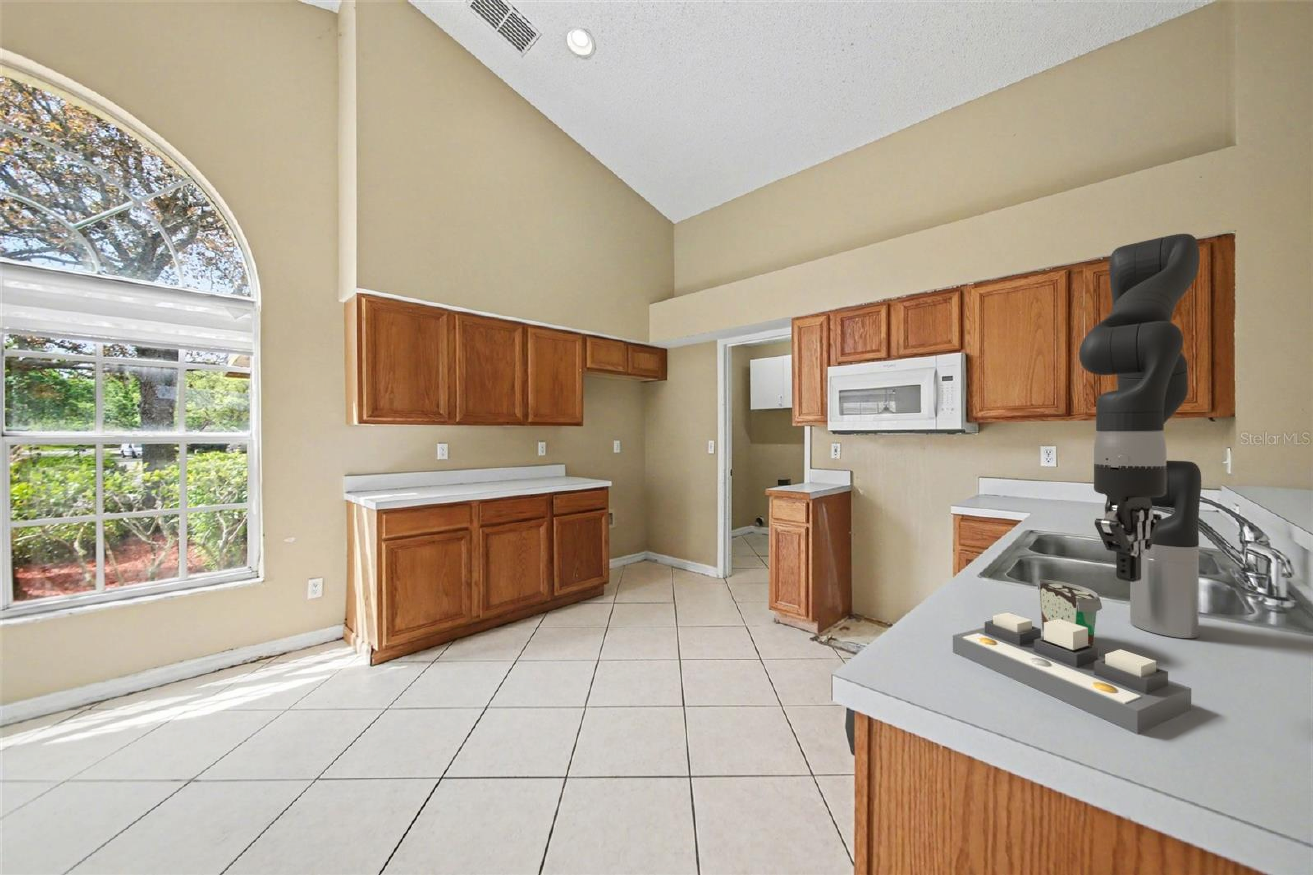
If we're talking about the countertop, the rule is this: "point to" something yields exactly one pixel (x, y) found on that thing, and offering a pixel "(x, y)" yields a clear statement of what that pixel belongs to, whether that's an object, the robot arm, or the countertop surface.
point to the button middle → (1066, 634)
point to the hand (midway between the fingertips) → (1128, 579)
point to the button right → (1131, 663)
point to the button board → (1076, 676)
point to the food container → (1069, 604)
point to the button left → (1012, 622)
